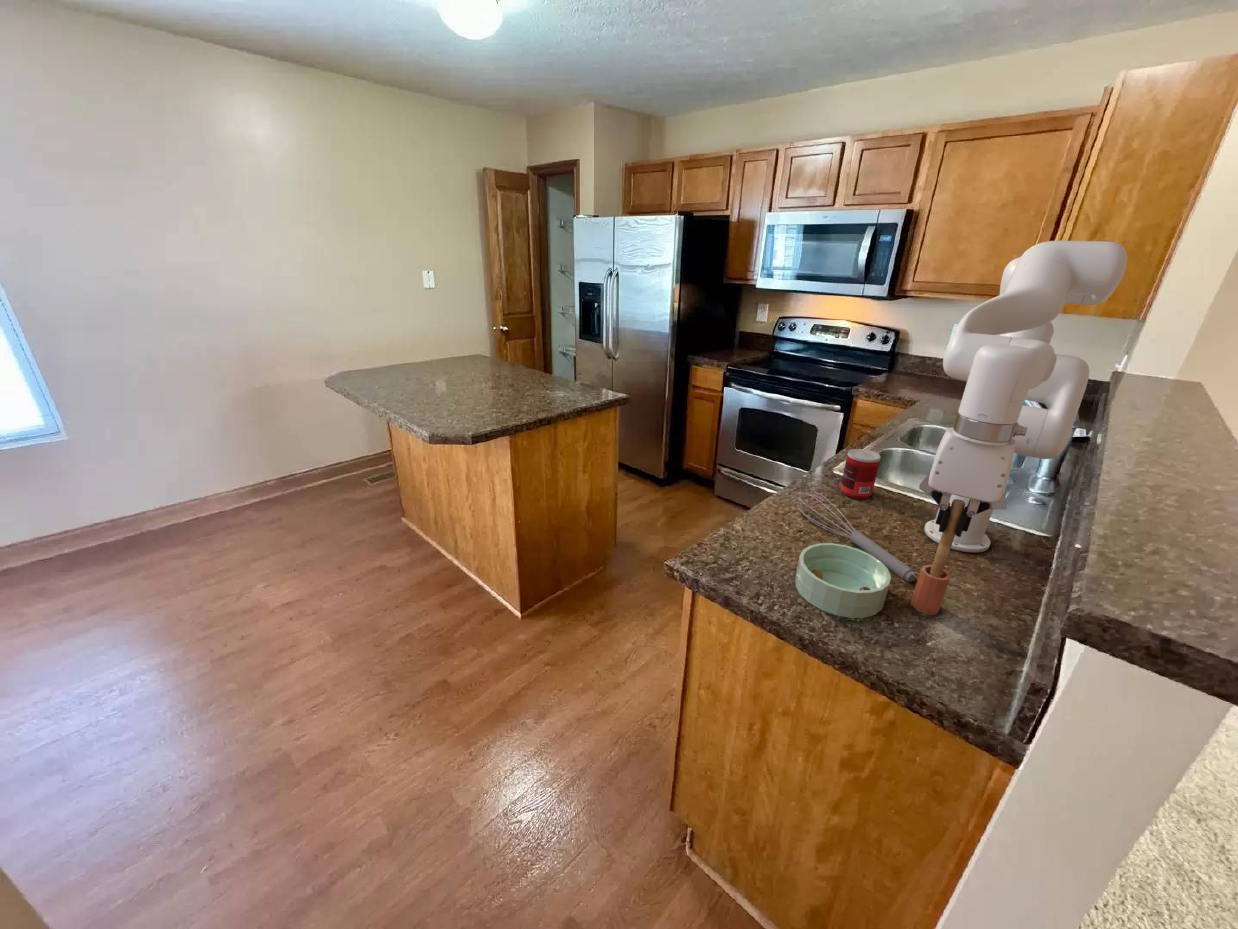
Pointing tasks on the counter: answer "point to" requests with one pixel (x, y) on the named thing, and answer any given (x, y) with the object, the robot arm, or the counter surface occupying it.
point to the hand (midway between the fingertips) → (949, 530)
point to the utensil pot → (929, 591)
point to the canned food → (860, 473)
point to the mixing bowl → (842, 580)
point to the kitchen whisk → (870, 547)
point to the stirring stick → (947, 538)
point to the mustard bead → (817, 573)
